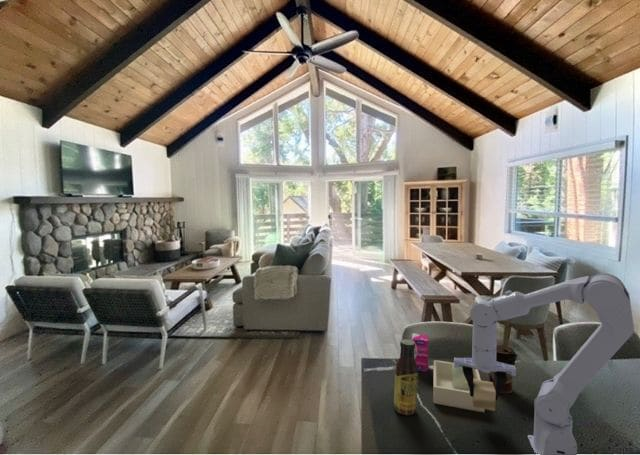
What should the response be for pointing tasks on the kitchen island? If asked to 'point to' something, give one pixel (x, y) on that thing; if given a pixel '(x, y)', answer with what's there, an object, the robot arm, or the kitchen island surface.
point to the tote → (450, 388)
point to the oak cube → (484, 395)
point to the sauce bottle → (406, 380)
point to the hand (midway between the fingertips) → (483, 396)
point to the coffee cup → (507, 357)
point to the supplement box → (421, 351)
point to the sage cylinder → (459, 379)
